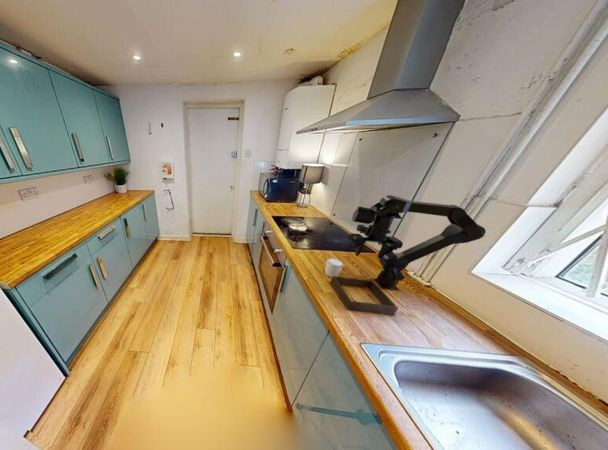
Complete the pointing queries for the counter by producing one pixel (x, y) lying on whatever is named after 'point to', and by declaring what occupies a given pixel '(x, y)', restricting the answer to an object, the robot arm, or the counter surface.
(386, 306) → the brown square frame
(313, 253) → the counter surface
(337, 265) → the shot glass
